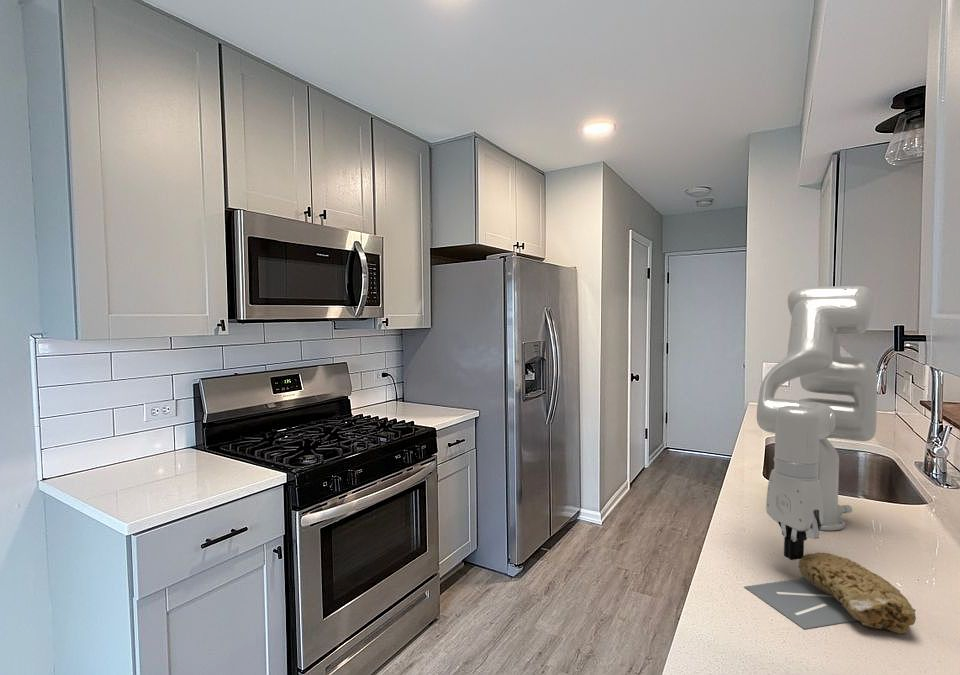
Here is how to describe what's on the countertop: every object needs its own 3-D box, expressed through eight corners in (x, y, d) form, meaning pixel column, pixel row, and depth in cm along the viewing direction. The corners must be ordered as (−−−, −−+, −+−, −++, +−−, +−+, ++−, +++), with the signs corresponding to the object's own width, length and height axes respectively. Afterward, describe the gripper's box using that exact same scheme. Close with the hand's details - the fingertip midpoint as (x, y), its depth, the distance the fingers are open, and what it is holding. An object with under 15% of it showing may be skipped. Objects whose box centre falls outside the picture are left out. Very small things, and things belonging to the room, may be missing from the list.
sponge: (926, 645, 85) (865, 565, 104) (923, 604, 83) (862, 530, 102) (835, 647, 88) (793, 569, 107) (830, 608, 87) (788, 535, 106)
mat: (844, 573, 107) (844, 572, 107) (915, 610, 93) (915, 609, 93) (744, 587, 101) (744, 586, 101) (804, 629, 88) (804, 628, 88)
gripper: (752, 459, 111) (750, 543, 112) (811, 481, 96) (808, 577, 97) (782, 457, 113) (780, 540, 113) (844, 478, 98) (841, 573, 99)
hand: (793, 557), depth 105 cm, fingers closed
